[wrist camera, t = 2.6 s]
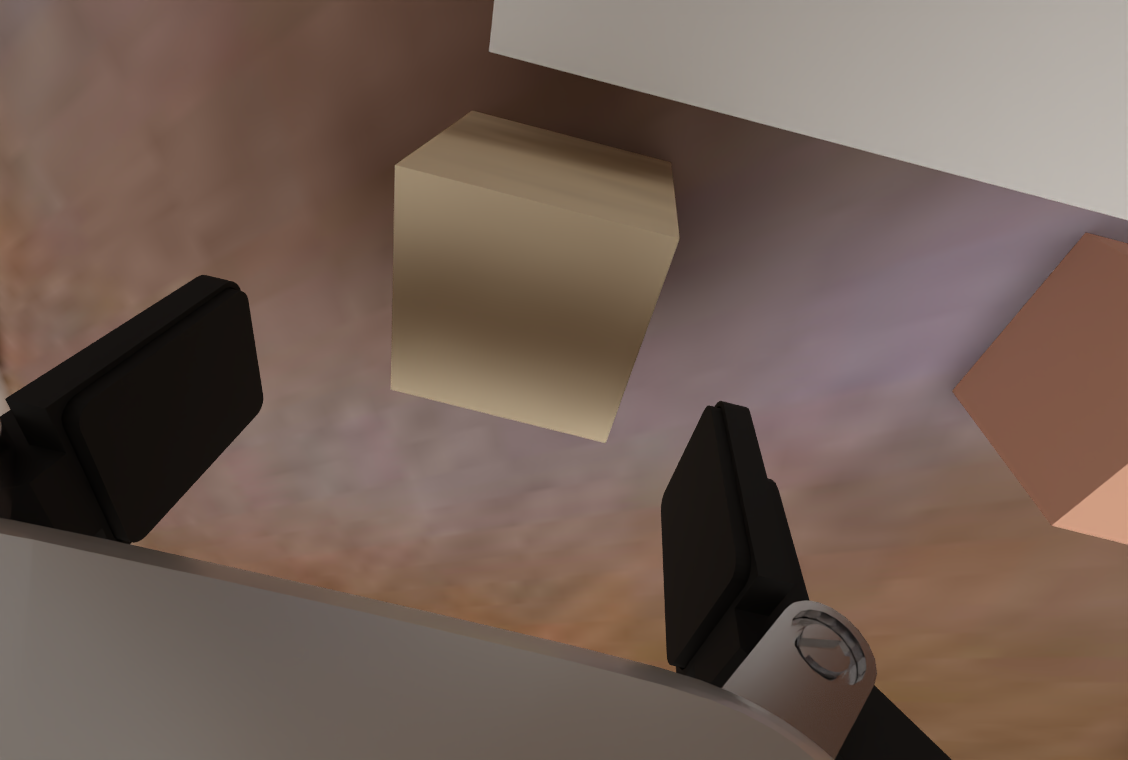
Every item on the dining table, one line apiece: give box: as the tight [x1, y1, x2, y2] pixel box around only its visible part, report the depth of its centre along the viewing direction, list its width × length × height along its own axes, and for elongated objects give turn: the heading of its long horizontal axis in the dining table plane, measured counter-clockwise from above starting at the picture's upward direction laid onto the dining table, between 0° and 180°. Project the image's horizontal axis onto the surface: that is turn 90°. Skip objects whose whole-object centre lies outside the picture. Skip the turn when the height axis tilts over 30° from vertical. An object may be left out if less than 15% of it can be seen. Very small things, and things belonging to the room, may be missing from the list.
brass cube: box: [391, 111, 680, 443], centre depth 15 cm, size 6×6×6 cm
